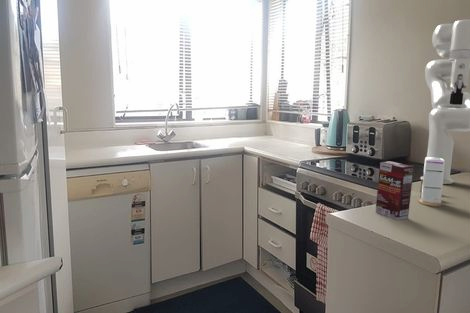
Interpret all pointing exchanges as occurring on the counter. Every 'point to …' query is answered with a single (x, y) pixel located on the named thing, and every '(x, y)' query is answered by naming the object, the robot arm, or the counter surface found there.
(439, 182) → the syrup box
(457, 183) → the counter surface
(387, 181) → the supplement box
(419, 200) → the disc
